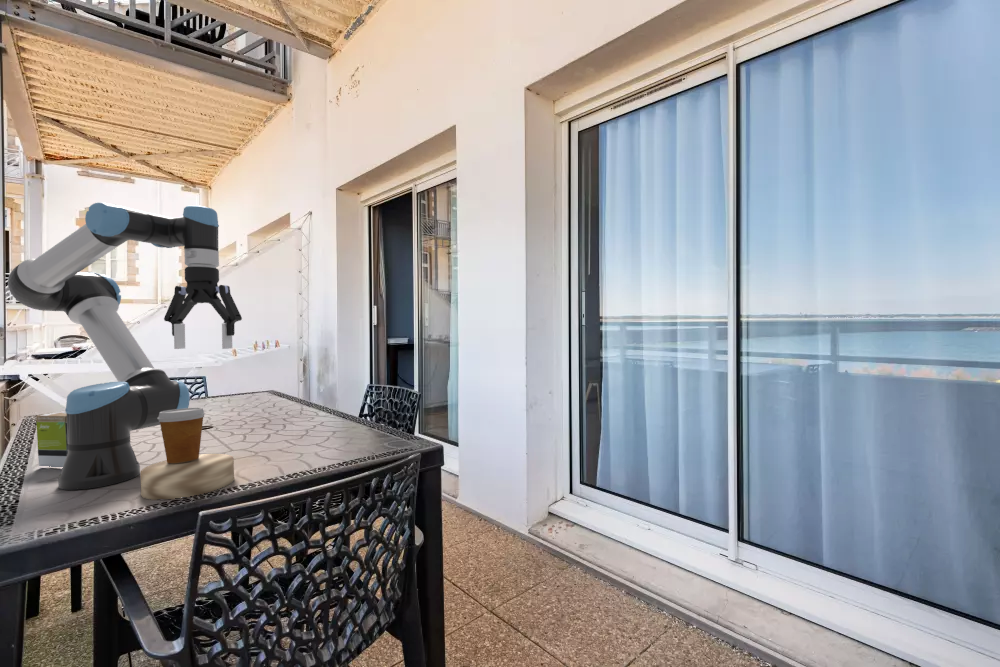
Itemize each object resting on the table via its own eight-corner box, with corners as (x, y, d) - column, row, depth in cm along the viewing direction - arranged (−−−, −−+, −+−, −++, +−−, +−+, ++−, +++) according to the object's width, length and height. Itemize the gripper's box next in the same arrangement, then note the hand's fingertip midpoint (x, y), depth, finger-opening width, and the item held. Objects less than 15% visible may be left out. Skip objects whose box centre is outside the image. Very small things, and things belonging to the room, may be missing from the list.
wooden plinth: (119, 498, 100) (118, 475, 100) (186, 472, 118) (185, 453, 118) (194, 501, 97) (193, 477, 97) (250, 474, 115) (250, 454, 115)
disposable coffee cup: (182, 465, 105) (180, 412, 105) (148, 465, 107) (146, 413, 107) (216, 455, 114) (214, 407, 114) (184, 455, 116) (182, 407, 116)
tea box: (94, 453, 138) (93, 404, 138) (123, 454, 136) (121, 405, 136) (36, 469, 123) (34, 414, 123) (67, 470, 121) (65, 414, 121)
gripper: (146, 266, 117) (147, 349, 118) (236, 264, 114) (237, 349, 115) (170, 270, 125) (172, 348, 125) (255, 267, 122) (257, 347, 122)
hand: (203, 348), depth 120 cm, fingers open, 13 cm apart
